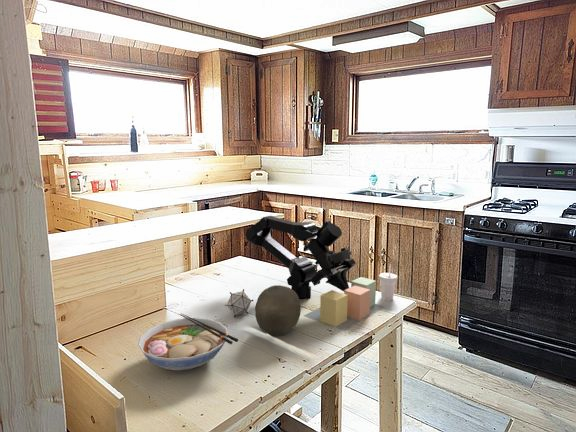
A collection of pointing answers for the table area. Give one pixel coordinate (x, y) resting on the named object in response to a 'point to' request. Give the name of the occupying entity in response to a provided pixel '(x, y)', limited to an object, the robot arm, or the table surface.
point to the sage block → (368, 285)
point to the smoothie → (387, 284)
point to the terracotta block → (358, 302)
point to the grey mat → (350, 321)
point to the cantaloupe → (277, 310)
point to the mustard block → (333, 308)
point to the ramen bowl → (184, 342)
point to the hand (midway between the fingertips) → (348, 292)
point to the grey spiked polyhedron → (239, 303)
